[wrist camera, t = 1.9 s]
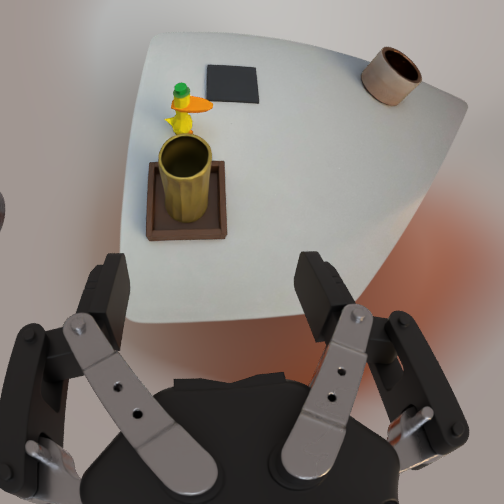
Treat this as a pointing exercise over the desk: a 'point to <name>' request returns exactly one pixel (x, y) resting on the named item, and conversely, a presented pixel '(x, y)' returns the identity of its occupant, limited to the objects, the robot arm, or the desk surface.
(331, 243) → the desk surface
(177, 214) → the vase
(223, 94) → the mat
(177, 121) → the toy figure
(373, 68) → the planter
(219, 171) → the tray
